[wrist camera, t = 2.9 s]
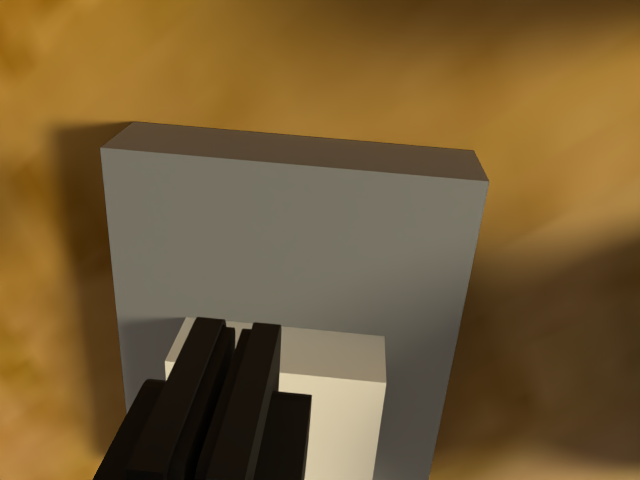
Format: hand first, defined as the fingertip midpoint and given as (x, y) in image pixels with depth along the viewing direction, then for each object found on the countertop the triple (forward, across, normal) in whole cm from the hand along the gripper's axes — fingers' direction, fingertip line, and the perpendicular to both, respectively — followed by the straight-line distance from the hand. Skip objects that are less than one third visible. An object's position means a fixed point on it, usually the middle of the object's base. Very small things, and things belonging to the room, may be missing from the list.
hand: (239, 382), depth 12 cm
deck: (+11, 0, +6) cm, 13 cm away
